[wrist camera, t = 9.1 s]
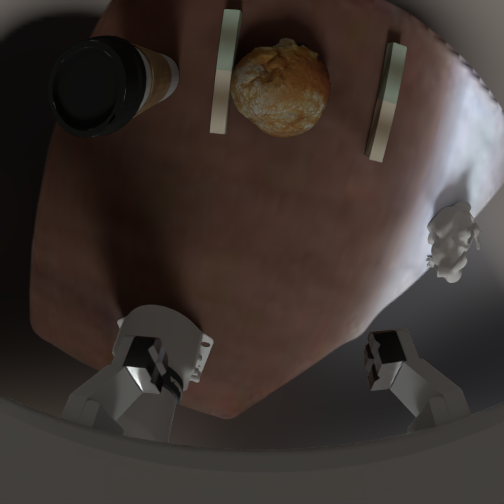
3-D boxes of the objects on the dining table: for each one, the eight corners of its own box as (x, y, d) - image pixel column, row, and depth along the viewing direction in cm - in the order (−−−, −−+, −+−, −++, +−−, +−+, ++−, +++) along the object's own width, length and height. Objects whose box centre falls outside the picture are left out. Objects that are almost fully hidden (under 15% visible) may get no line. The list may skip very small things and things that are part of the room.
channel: (376, 157, 32) (381, 162, 30) (213, 129, 32) (209, 132, 30) (399, 48, 24) (406, 47, 23) (227, 12, 24) (224, 9, 22)
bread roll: (232, 81, 31) (200, 114, 27) (275, 16, 23) (245, 35, 19) (300, 127, 34) (281, 167, 30) (354, 73, 25) (346, 106, 21)
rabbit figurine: (430, 268, 40) (455, 312, 32) (396, 252, 39) (419, 298, 31) (473, 205, 34) (509, 241, 26) (440, 182, 33) (478, 216, 25)
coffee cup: (156, 126, 32) (88, 165, 19) (110, 83, 29) (26, 102, 16) (205, 75, 28) (155, 78, 16) (155, 30, 25) (81, 14, 13)
